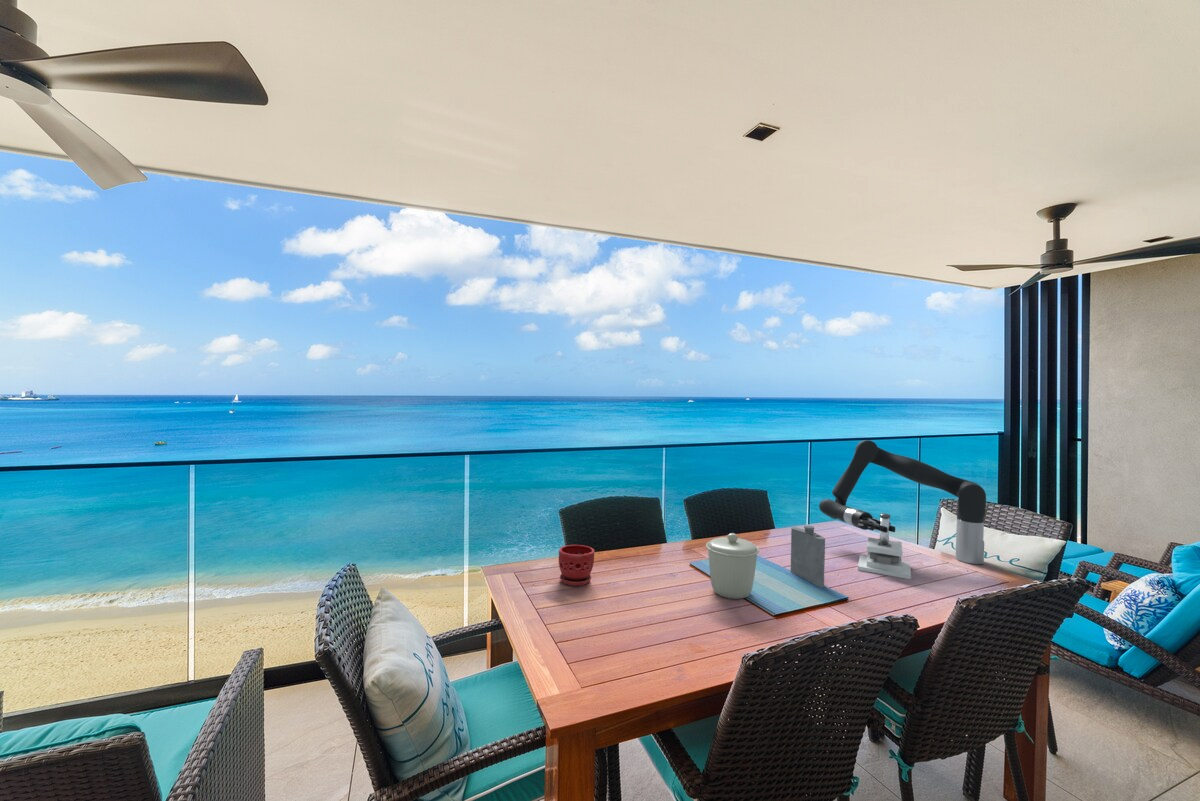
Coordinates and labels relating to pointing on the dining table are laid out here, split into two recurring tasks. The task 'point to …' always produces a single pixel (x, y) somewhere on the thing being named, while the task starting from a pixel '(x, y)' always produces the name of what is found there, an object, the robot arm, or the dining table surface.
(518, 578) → the dining table surface
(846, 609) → the dining table surface
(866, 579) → the dining table surface
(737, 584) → the canister
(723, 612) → the dining table surface
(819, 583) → the hip flask
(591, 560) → the plant pot
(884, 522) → the clevis pin
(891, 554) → the clevis bracket
